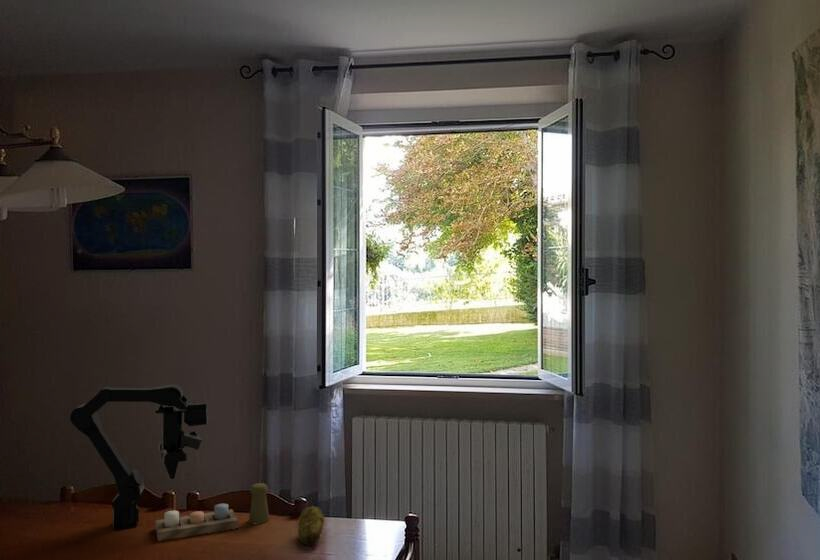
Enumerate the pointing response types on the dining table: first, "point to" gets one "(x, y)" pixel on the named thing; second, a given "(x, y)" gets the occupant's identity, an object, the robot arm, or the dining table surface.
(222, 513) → the pale blue cylinder
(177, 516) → the cream button
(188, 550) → the dining table surface
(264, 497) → the green shaker
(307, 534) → the potato
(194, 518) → the peach short cylinder
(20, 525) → the dining table surface
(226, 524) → the button board
